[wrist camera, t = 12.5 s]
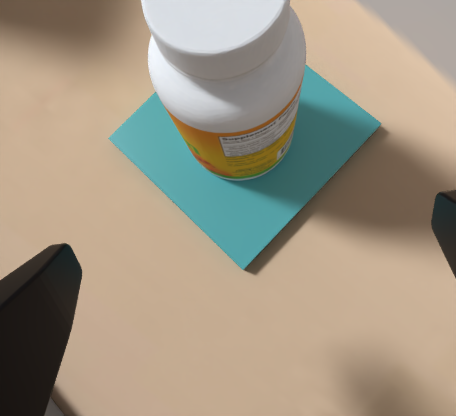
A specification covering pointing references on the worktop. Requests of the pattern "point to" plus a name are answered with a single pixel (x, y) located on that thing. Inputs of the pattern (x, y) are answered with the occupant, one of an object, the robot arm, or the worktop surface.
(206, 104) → the supplement bottle
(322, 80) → the teal mat
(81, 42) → the worktop surface
